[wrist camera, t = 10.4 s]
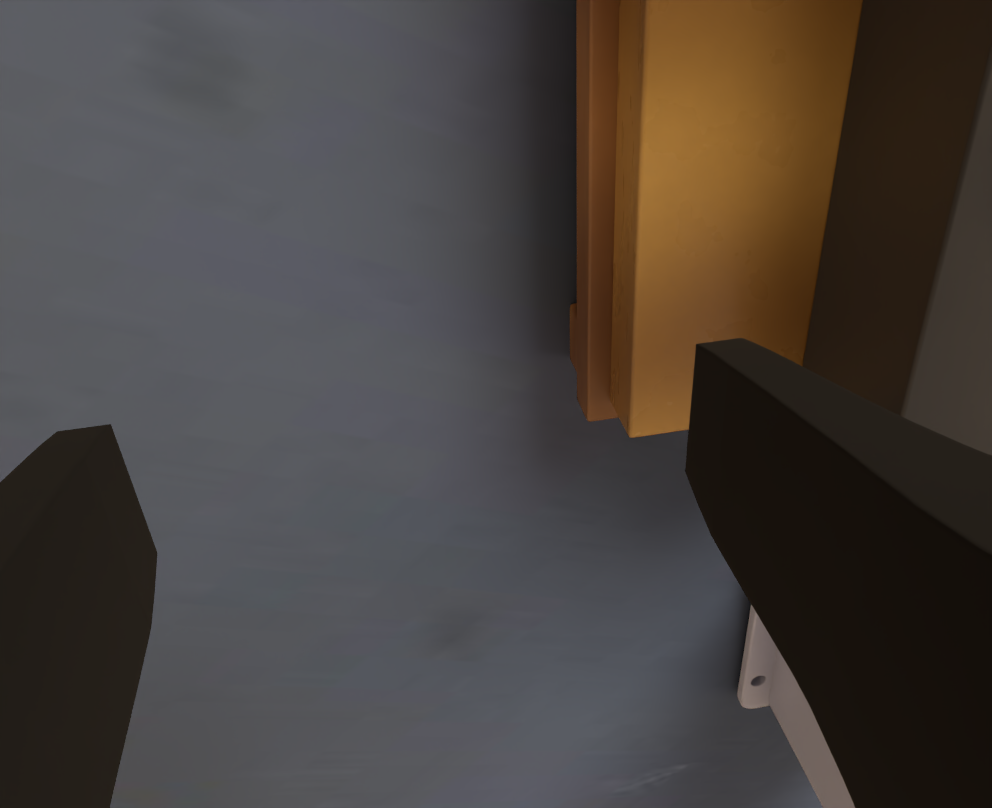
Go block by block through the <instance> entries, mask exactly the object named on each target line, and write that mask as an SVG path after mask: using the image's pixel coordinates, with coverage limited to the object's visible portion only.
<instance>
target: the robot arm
mask: <svg viewBox="0 0 992 808" xmlns="http://www.w3.org/2000/svg"><path fill="white" fill-rule="evenodd" d="M685 472H686V475H687V477H688V480H689V482H690V485H691V488H692V490H693V493H694V495H695V498H696V500H697V503H698V505H699V508H700V510H701V513H702V515H703V517H704V520H705V522H706V524H707V527H708V529H709V531H710V534H711V536H712V537H713V539H714V541H715V543H716V545H717V546H718V548H719V550H720V552H721V553H722V555H723V557H724V559H725V560H726V562H727V564H728V565H729V567H730V569H731V571H732V572H733V574H734V576H735V577H736V579H737V581H738V583H739V584H740V586H741V588H742V589H743V591H744V593H745V594H746V596H747V598H748V600H749V601H750V603H751V608H750V615H749V621H748V628H747V634H746V641H745V647H744V654H743V660H742V667H741V673H740V680H739V686H738V692H737V697H738V699H739V702H740V704H741V705H742V706H743V707H744V708H748V709H754V708H759V707H765V706H770V707H771V709H772V711H773V713H774V714H775V716H776V718H777V720H778V722H779V724H780V726H781V728H782V730H783V732H784V734H785V736H786V737H787V739H788V741H789V743H790V745H791V747H792V749H793V751H794V753H795V755H796V757H797V759H798V760H799V762H800V764H801V766H802V768H803V770H804V772H805V774H806V776H807V778H808V780H809V781H810V783H811V785H812V787H813V789H814V791H815V793H816V795H817V797H818V799H819V801H820V803H821V804H822V806H823V808H992V456H991V455H989V454H986V453H984V452H981V451H979V450H976V449H974V448H971V447H969V446H967V445H964V444H962V443H960V442H957V441H955V440H953V439H951V438H948V437H946V436H944V435H942V434H939V433H937V432H935V431H933V430H930V429H928V428H926V427H923V426H921V425H919V424H917V423H914V422H912V421H910V420H908V419H906V418H904V417H902V416H900V415H898V414H895V413H893V412H891V411H889V410H887V409H885V408H883V407H881V406H879V405H877V404H875V403H873V402H871V401H869V400H867V399H865V398H863V397H861V396H859V395H857V394H855V393H853V392H851V391H849V390H847V389H845V388H843V387H841V386H839V385H837V384H835V383H833V382H831V381H830V380H828V379H826V378H824V377H822V376H820V375H818V374H816V373H814V372H812V371H810V370H808V369H806V368H804V367H803V366H801V365H799V364H797V363H795V362H793V361H791V360H789V359H787V358H785V357H783V356H781V355H779V354H777V353H775V352H773V351H771V350H769V349H767V348H765V347H763V346H760V345H758V344H756V343H754V342H751V341H749V340H746V339H744V338H736V339H729V340H721V341H714V342H707V343H699V344H696V351H695V362H694V374H693V386H692V397H691V409H690V421H689V432H688V444H687V456H686V468H685ZM156 564H157V551H156V548H155V545H154V542H153V540H152V537H151V534H150V531H149V529H148V526H147V523H146V520H145V518H144V515H143V512H142V509H141V507H140V504H139V501H138V498H137V496H136V493H135V490H134V487H133V484H132V482H131V479H130V476H129V473H128V471H127V468H126V465H125V462H124V460H123V457H122V454H121V451H120V449H119V446H118V443H117V440H116V438H115V435H114V432H113V429H112V427H111V424H109V425H102V426H94V427H87V428H80V429H73V430H65V431H58V432H56V433H55V434H54V435H52V436H51V437H50V438H49V439H47V440H46V441H45V442H44V443H43V444H41V445H40V446H39V447H38V448H37V449H36V450H35V451H34V452H32V453H31V454H30V455H29V456H28V457H27V458H26V459H25V460H24V461H23V462H22V463H21V464H19V465H18V466H17V467H16V468H15V469H14V470H13V471H12V472H11V473H10V474H9V475H8V476H7V477H6V478H5V479H4V480H2V481H1V482H0V808H110V803H111V798H112V794H113V790H114V786H115V781H116V777H117V773H118V769H119V764H120V760H121V756H122V752H123V747H124V743H125V739H126V735H127V730H128V726H129V722H130V718H131V713H132V709H133V705H134V701H135V697H136V692H137V688H138V684H139V679H140V675H141V670H142V666H143V662H144V657H145V653H146V648H147V644H148V639H149V634H150V630H151V623H152V613H153V603H154V593H155V578H156Z"/></svg>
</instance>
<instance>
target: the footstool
mask: <svg viewBox="0 0 992 808" xmlns="http://www.w3.org/2000/svg"><path fill="white" fill-rule="evenodd" d="M862 4H863V0H577V303H574V304H571V306H570V359H571V361H572V364H573V366H574V368H575V370H576V372H577V400H578V402H579V404H580V406H581V408H582V411H583V413H584V415H585V417H586V419H587V421H589V422H591V421H598V420H605V419H612V418H619V419H620V421H621V423H622V425H623V426H624V428H625V430H626V432H627V434H628V436H629V437H630V438H636V437H642V436H649V435H656V434H663V433H669V432H676V431H683V430H689V421H690V409H691V397H692V386H693V374H694V362H695V351H696V344H699V343H707V342H714V341H721V340H729V339H736V338H744V339H746V340H749V341H751V342H754V343H756V344H758V345H760V346H763V347H765V348H767V349H769V350H771V351H773V352H775V353H777V354H779V355H781V356H783V357H785V358H787V359H789V360H791V361H793V362H795V363H797V364H799V365H801V366H803V360H804V354H805V348H806V342H807V336H808V330H809V324H810V318H811V312H812V306H813V300H814V294H815V288H816V282H817V276H818V269H819V263H820V257H821V251H822V245H823V239H824V233H825V227H826V221H827V215H828V209H829V203H830V197H831V191H832V185H833V179H834V173H835V167H836V161H837V155H838V149H839V143H840V137H841V130H842V124H843V118H844V112H845V106H846V100H847V94H848V88H849V82H850V76H851V70H852V64H853V58H854V52H855V46H856V40H857V34H858V28H859V22H860V16H861V10H862Z"/></svg>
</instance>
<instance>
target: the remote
mask: <svg viewBox="0 0 992 808" xmlns="http://www.w3.org/2000/svg"><path fill="white" fill-rule="evenodd" d="M803 367H804V368H806V369H808V370H810V371H812V372H814V373H816V374H818V375H820V376H822V377H824V378H826V379H828V380H830V381H831V382H833V383H835V384H837V385H839V386H841V387H843V388H845V389H847V390H849V391H851V392H853V393H855V394H857V395H859V396H861V397H863V398H865V399H867V400H869V401H871V402H873V403H875V404H877V405H879V406H881V407H883V408H885V409H887V410H889V411H891V412H893V413H895V414H898V415H900V416H902V417H904V418H906V419H908V420H910V421H912V422H914V423H917V424H919V425H921V426H923V427H926V428H928V429H930V430H933V431H935V432H937V433H939V434H942V435H944V436H946V437H948V438H951V439H953V440H955V441H957V442H960V443H962V444H964V445H967V446H969V447H971V448H974V449H976V450H979V451H981V452H984V453H986V454H989V455H991V456H992V0H863V4H862V10H861V16H860V22H859V28H858V34H857V40H856V46H855V52H854V58H853V64H852V70H851V76H850V82H849V88H848V94H847V100H846V106H845V112H844V118H843V124H842V130H841V137H840V143H839V149H838V155H837V161H836V167H835V173H834V179H833V185H832V191H831V197H830V203H829V209H828V215H827V221H826V227H825V233H824V239H823V245H822V251H821V257H820V263H819V269H818V276H817V282H816V288H815V294H814V300H813V306H812V312H811V318H810V324H809V330H808V336H807V342H806V348H805V354H804V360H803Z"/></svg>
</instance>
